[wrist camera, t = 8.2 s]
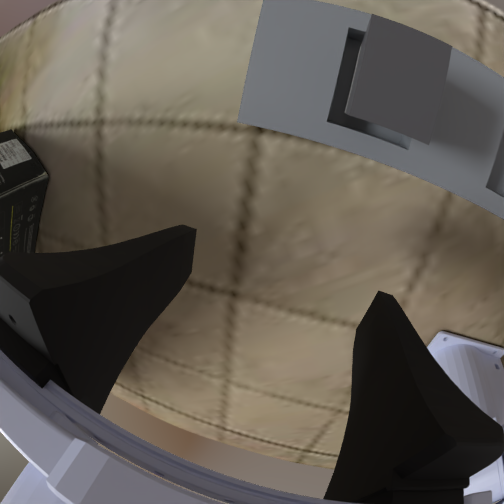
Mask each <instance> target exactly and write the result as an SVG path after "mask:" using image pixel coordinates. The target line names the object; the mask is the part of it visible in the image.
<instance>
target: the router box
mask: <svg viewBox="0 0 504 504" xmlns="http://www.w3.org/2000/svg"><path fill="white" fill-rule="evenodd" d="M18 138H19V137H18V136H16V135H15V133H14V132H13V131H12V130H8V131H5V132H1V133H0V257H2V256H3V255H5V254H6V253H8V252H23V253H35V244H36V238H37V231H38V225H39V219H40V214H41V209H42V204H43V200H44V195H45V191H46V187H47V183H48V179H49V177H48V175H47V173H46V171H45V170H44V169H43V167H42V165H41V163H40V162H39V160H38V159H37V158H36V156H35V154H34V153H33V152H32V150H31V149H30V148H29V147H28V146H27V145H26V144H25V143H24V142H23V141H22V140H21V139H20V138H19V139H18ZM23 144H24V145H23ZM29 152H30V153H29Z"/></svg>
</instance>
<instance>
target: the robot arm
mask: <svg viewBox="0 0 504 504" xmlns="http://www.w3.org/2000/svg"><path fill="white" fill-rule="evenodd" d="M196 230H197V229H194V228H191V227H188V226H185V225H178V226H174V227H171V228H167V229H164V230H161V231H158V232H155V233H151V234H148V235H145V236H142V237H139V238H135V239H131V240H128V241H124V242H121V243H117V244H113V245H108V246H104V247H99V248H93V249H87V250H79V251H71V252H59V253H23V252H8V253H6V254H5V255H3V256H2V257H0V431H1V433H3V435H4V436H5V437H6V438H7V439H8V440H9V441H10V442H11V443H12V445H13V446H14V447H15V448H16V449H17V450H18V451H19V452H20V453H21V454H22V455H23V456H24V457H25V458H26V459H27V460H28V461H29V463H28V464H27V466H26V467H25V469H24V470H23V471H22V473H21V474H20V476H19V477H18V479H17V480H16V482H15V483H14V484H13V486H12V487H11V489H10V490H9V492H8V493H7V495H6V496H5V498H4V499H3V501H2V502H1V504H223V503H220V502H217V501H215V500H212V499H209V498H206V497H203V496H201V495H198V494H195V493H193V492H190V491H188V490H185V489H183V488H181V487H178V486H176V485H174V484H171V483H169V482H167V481H164V480H162V479H160V478H158V477H156V476H154V475H152V474H150V473H148V472H146V471H144V470H142V469H140V468H138V467H136V466H135V465H133V464H131V463H129V462H127V461H125V460H124V459H122V458H120V457H118V456H117V455H115V454H113V453H111V452H110V451H108V450H106V449H104V448H103V447H101V446H99V445H98V443H96V441H97V442H99V443H100V444H102V445H104V446H105V447H107V448H108V449H110V450H112V451H113V452H115V453H117V454H118V455H120V456H122V457H123V458H125V459H127V460H129V461H131V462H132V463H134V464H136V465H138V466H140V467H142V468H144V469H146V470H148V471H150V472H152V473H154V474H156V475H158V476H160V477H162V478H164V479H167V480H169V481H171V482H173V483H176V484H178V485H180V486H183V487H185V488H188V489H190V490H192V491H195V492H198V493H200V494H203V495H206V496H208V497H211V498H214V499H217V500H220V501H223V502H226V503H229V504H492V503H494V502H496V501H499V500H501V499H502V500H501V501H499V502H498V503H496V504H504V368H503V365H502V362H501V360H500V358H501V357H502V356H503V355H504V348H501V347H498V346H494V345H491V344H487V343H483V342H480V341H476V340H473V339H469V338H466V337H462V336H459V335H455V334H452V333H448V332H445V331H440V332H438V333H437V335H436V336H435V337H434V339H433V340H432V341H431V343H430V344H429V345H428V347H426V346H425V344H424V343H423V341H422V340H421V338H420V337H419V335H418V333H417V332H416V330H415V329H414V327H413V326H412V324H411V322H410V321H409V319H408V318H407V316H406V314H405V313H404V311H403V310H402V308H401V306H400V305H399V303H398V302H397V301H396V299H395V298H394V297H393V295H390V294H387V293H384V292H381V291H378V292H377V294H376V296H375V298H374V300H373V301H372V303H371V305H370V307H369V308H368V310H367V312H366V314H365V315H364V317H363V319H362V321H361V322H360V324H359V326H358V327H357V329H356V335H355V341H354V348H353V364H352V389H351V403H350V411H349V416H348V421H347V426H346V431H345V435H344V439H343V443H342V447H341V450H340V454H339V457H338V460H337V463H336V467H335V470H334V473H333V476H332V478H331V481H330V483H329V486H328V488H327V492H326V494H325V496H324V498H323V499H319V498H313V497H307V496H301V495H297V494H292V493H287V492H283V491H279V490H275V489H270V488H266V487H263V486H259V485H256V484H252V483H249V482H245V481H242V480H239V479H236V478H233V477H230V476H227V475H224V474H221V473H218V472H215V471H213V470H210V469H207V468H204V467H202V466H199V465H197V464H195V463H192V462H190V461H187V460H185V459H183V458H180V457H178V456H176V455H174V454H171V453H169V452H167V451H165V450H163V449H161V448H159V447H157V446H154V445H153V444H151V443H149V442H147V441H145V440H143V439H141V438H139V437H137V436H135V435H133V434H131V433H130V432H128V431H126V430H124V429H123V428H121V427H119V426H118V425H116V424H114V423H112V422H111V421H109V420H108V419H106V418H104V417H103V416H101V415H100V413H101V410H102V408H103V406H104V404H105V402H106V400H107V397H108V395H109V393H110V391H111V389H112V387H113V385H114V384H115V382H116V380H117V378H118V376H119V374H120V372H121V371H122V369H123V367H124V365H125V364H126V362H127V360H128V359H129V357H130V355H131V353H132V352H133V350H134V349H135V347H136V346H137V344H138V342H139V341H140V339H141V338H142V336H143V335H144V334H145V332H146V331H147V330H148V328H149V327H150V326H151V325H152V323H153V322H154V321H155V320H156V319H157V318H158V316H159V315H160V314H161V313H162V312H163V310H164V309H165V308H166V307H167V306H168V305H169V303H170V302H171V301H172V300H173V299H174V297H175V296H176V295H177V294H178V293H179V291H180V290H181V288H182V287H183V285H184V284H185V282H186V281H187V279H188V277H189V276H190V274H191V272H192V263H193V255H194V246H195V238H196ZM445 337H446V338H445ZM90 437H91V438H90ZM92 438H93V439H94V440H96V441H94V440H93V439H92Z"/></svg>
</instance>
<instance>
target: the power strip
mask: <svg viewBox="0 0 504 504" xmlns="http://www.w3.org/2000/svg"><path fill="white" fill-rule="evenodd" d="M370 18H371V14H368V13H365V12H361V11H358V10H354V9H350V8H346V7H342V6H338V5H334V4H329V3H324V2H319V1H314V0H263V4H262V8H261V12H260V16H259V21H258V25H257V29H256V34H255V38H254V43H253V47H252V52H251V56H250V61H249V66H248V71H247V75H246V80H245V85H244V90H243V95H242V100H241V105H240V110H239V115H238V120H237V122H239V123H243V124H248V125H253V126H257V127H262V128H266V129H270V130H275V131H279V132H283V133H287V134H291V135H294V136H298V137H302V138H305V139H309V140H313V141H316V142H319V143H323V144H326V145H329V146H333V147H336V148H339V149H342V150H345V151H348V152H352V153H355V154H357V155H360V156H363V157H366V158H369V159H372V160H375V161H377V162H380V163H383V164H386V165H388V166H391V167H393V168H396V169H399V170H401V171H404V172H406V173H409V174H411V175H413V176H416V177H418V178H421V179H423V180H425V181H428V182H430V183H432V184H434V185H437V186H439V187H441V188H443V189H445V190H448V191H450V192H452V193H454V194H456V195H458V196H460V197H462V198H464V199H466V200H468V201H470V202H472V203H474V204H476V205H478V206H480V207H482V208H484V209H486V210H488V211H489V212H491V213H493V214H495V215H497V216H499V217H500V218H502V219H504V77H502V76H501V75H499V74H498V73H496V72H495V71H493V70H491V69H490V68H488V67H487V66H485V65H483V64H482V63H480V62H478V61H477V60H475V59H473V58H471V57H470V56H468V55H466V54H464V53H462V52H461V51H459V50H457V49H455V48H453V47H452V50H451V56H450V62H449V67H448V72H447V77H446V82H445V87H444V91H443V95H442V100H441V104H440V108H439V112H438V115H437V119H436V123H435V126H434V130H433V133H432V137H431V140H430V144H429V145H427V144H425V143H422V142H420V141H418V140H415V139H413V138H410V137H408V136H406V135H403V134H401V133H398V132H395V131H393V130H390V129H388V128H385V127H382V126H379V125H377V124H374V123H371V122H368V121H365V120H362V119H359V118H356V117H353V116H350V115H348V114H346V113H344V111H345V107H346V103H347V99H348V95H349V91H350V87H351V83H352V79H353V74H354V70H355V66H356V61H357V57H358V53H359V50H360V47H361V44H362V41H363V38H364V35H365V33H366V30H367V27H368V24H369V21H370Z"/></svg>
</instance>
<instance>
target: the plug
mask: <svg viewBox="0 0 504 504" xmlns="http://www.w3.org/2000/svg"><path fill="white" fill-rule="evenodd" d="M451 50H452V46H451V45H449V44H447V43H445V42H442V41H440V40H438V39H436V38H434V37H432V36H430V35H427V34H425V33H423V32H420V31H418V30H416V29H413V28H411V27H408V26H405V25H403V24H400V23H397V22H395V21H392V20H389V19H386V18H383V17H380V16H377V15H374V14H372V15H371V18H370V21H369V24H368V27H367V30H366V33H365V35H364V38H363V41H362V44H361V47H360V50H359V53H358V57H357V61H356V66H355V70H354V74H353V79H352V83H351V87H350V91H349V95H348V99H347V103H346V107H345V111H344V113H346V114H348V115H350V116H353V117H356V118H359V119H362V120H365V121H368V122H371V123H374V124H377V125H379V126H382V127H385V128H388V129H390V130H393V131H395V132H398V133H401V134H403V135H406V136H408V137H410V138H413V139H415V140H418V141H420V142H422V143H425V144H427V145H429V144H430V140H431V137H432V133H433V130H434V126H435V123H436V119H437V115H438V112H439V108H440V104H441V100H442V95H443V91H444V87H445V82H446V77H447V72H448V67H449V62H450V56H451Z"/></svg>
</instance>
